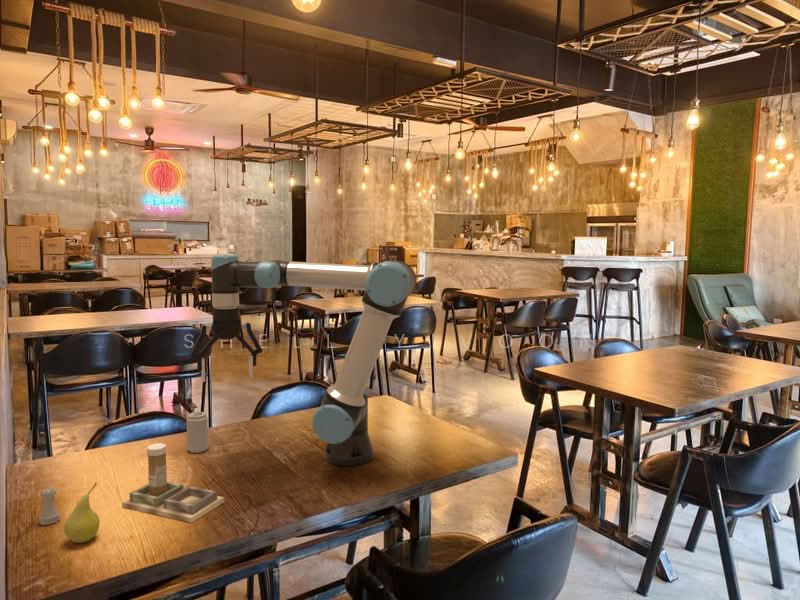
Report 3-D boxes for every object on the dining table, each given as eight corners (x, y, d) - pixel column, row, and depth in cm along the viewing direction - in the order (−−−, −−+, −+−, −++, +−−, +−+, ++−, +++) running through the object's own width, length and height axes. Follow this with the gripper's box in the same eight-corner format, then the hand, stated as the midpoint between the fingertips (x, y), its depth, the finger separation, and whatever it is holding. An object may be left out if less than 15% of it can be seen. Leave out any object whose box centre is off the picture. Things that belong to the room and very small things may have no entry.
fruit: (58, 544, 124) (55, 492, 123) (88, 529, 131) (85, 479, 130) (80, 550, 122) (77, 497, 121) (109, 534, 129) (107, 483, 128)
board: (224, 501, 145) (224, 489, 145) (191, 522, 134) (191, 509, 134) (158, 488, 153) (158, 476, 153) (122, 507, 142) (121, 494, 142)
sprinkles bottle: (146, 495, 146) (144, 445, 145) (164, 490, 149) (162, 441, 148) (152, 501, 142) (150, 450, 141) (170, 496, 146) (168, 445, 144)
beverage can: (211, 447, 185) (210, 411, 184) (203, 454, 178) (202, 417, 177) (193, 446, 185) (192, 411, 184) (183, 453, 179) (182, 416, 178)
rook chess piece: (45, 517, 137) (43, 485, 136) (64, 516, 137) (62, 485, 136) (34, 526, 132) (32, 493, 131) (54, 525, 133) (52, 493, 132)
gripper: (266, 304, 173) (267, 372, 175) (179, 307, 163) (181, 379, 165) (271, 307, 166) (272, 377, 168) (180, 310, 156) (183, 385, 158)
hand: (227, 378), depth 166 cm, fingers open, 13 cm apart
